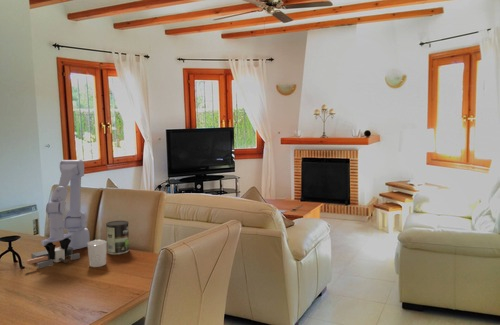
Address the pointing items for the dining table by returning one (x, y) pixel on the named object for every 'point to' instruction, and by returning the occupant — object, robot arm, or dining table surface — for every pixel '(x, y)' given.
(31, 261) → the latch
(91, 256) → the white cup
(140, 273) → the dining table surface
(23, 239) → the dining table surface
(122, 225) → the coffee can
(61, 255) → the plug
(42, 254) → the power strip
